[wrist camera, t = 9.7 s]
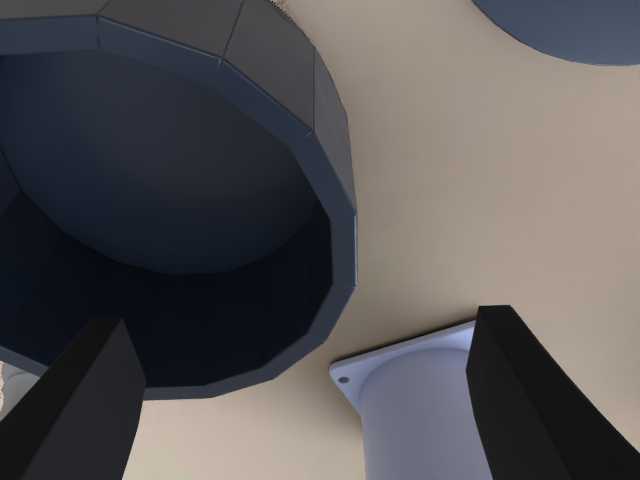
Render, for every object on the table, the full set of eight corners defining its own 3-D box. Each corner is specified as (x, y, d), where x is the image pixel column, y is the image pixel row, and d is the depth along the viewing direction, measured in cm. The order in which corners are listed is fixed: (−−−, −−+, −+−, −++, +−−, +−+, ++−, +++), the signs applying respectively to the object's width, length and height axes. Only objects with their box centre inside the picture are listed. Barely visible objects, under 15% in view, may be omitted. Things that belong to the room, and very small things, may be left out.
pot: (397, 216, 21) (421, 335, 16) (135, 312, 24) (92, 434, 19) (230, -140, 14) (186, -111, 9) (-110, 66, 17) (-271, 165, 12)
